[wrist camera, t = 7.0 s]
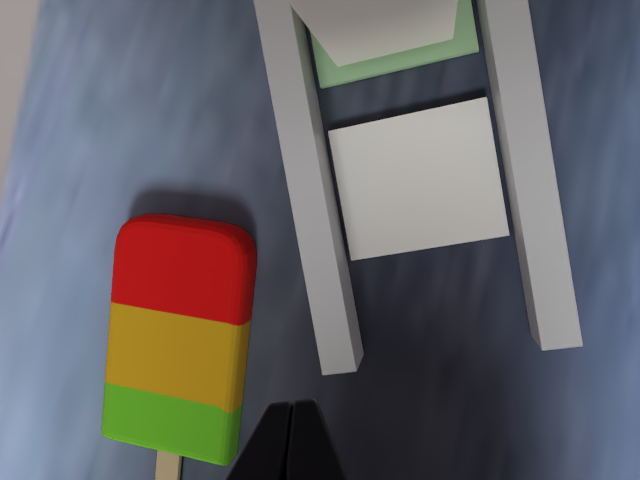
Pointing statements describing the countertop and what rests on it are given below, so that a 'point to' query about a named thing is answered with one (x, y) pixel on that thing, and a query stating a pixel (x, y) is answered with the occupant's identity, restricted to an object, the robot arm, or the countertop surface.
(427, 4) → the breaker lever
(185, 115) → the countertop surface
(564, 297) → the frame
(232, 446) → the popsicle
